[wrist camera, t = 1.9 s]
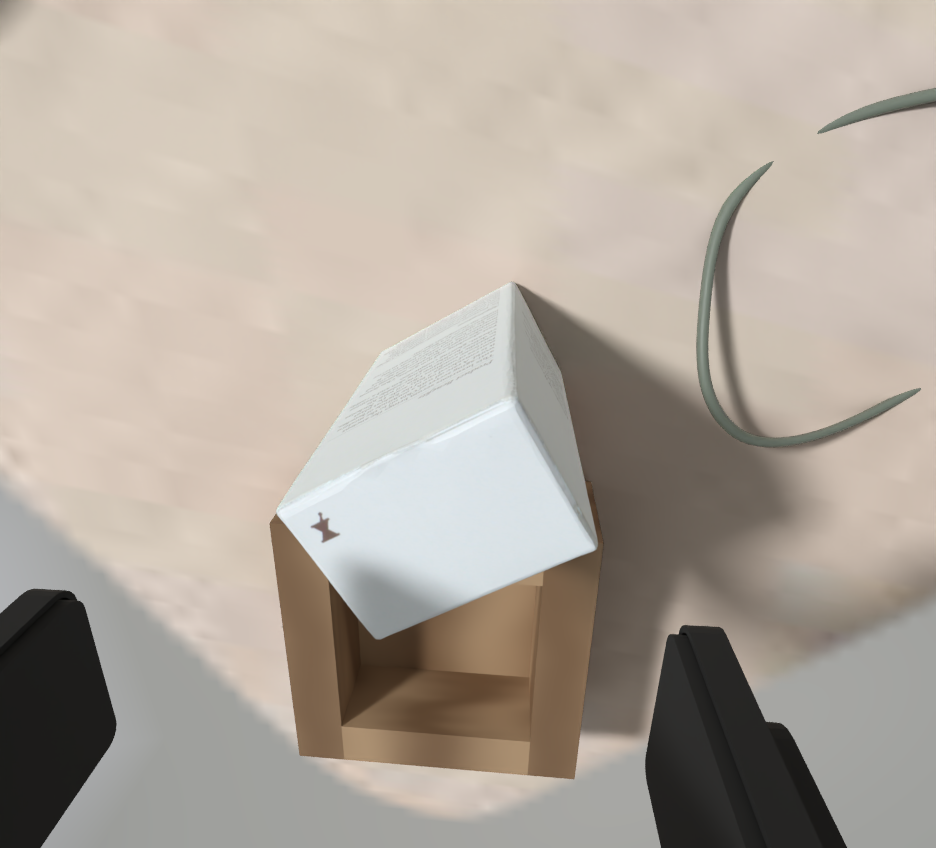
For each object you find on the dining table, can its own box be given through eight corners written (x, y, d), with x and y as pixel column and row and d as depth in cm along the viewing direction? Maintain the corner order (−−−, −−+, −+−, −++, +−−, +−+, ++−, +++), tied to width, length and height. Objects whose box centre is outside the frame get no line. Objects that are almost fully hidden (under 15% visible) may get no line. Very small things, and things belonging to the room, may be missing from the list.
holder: (590, 481, 26) (603, 543, 22) (567, 695, 31) (574, 779, 27) (308, 466, 27) (269, 523, 23) (329, 677, 32) (299, 755, 27)
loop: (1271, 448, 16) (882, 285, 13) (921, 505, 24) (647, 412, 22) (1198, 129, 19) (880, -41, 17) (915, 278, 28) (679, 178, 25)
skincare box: (434, 438, 26) (369, 649, 15) (379, 350, 24) (262, 510, 13) (568, 372, 24) (606, 555, 13) (517, 275, 23) (512, 387, 12)
